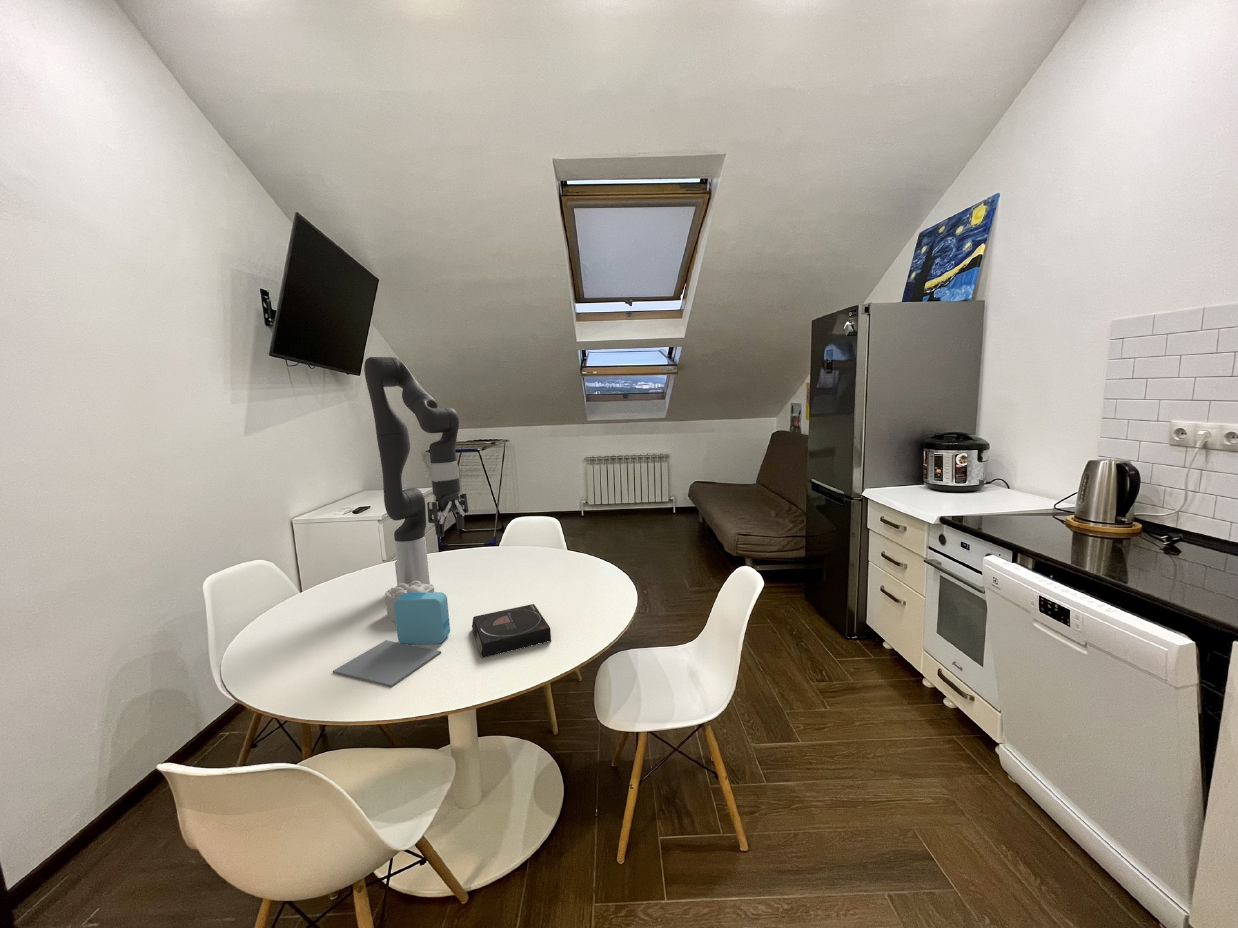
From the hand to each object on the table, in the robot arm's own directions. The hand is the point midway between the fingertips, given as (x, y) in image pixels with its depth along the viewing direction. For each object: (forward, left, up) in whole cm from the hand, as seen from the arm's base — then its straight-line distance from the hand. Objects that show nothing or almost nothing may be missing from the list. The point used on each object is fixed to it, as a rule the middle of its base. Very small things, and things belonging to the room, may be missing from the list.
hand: (450, 532), depth 143 cm
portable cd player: (+26, -10, -24) cm, 36 cm away
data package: (+6, -19, -23) cm, 31 cm away
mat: (+6, -31, -23) cm, 39 cm away
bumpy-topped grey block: (-10, -8, -23) cm, 27 cm away
